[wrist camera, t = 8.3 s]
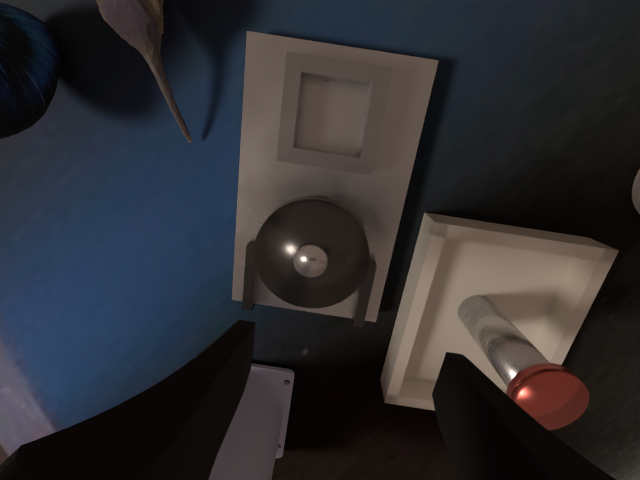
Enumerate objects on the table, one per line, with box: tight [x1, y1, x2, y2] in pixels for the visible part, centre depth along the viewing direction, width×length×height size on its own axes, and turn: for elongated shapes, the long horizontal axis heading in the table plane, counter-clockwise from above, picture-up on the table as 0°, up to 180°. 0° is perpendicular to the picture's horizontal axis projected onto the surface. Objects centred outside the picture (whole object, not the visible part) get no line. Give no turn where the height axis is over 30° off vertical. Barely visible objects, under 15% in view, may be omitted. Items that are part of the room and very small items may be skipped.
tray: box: [380, 213, 619, 411], centre depth 21 cm, size 14×11×2 cm
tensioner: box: [232, 31, 439, 328], centre depth 19 cm, size 16×10×3 cm, turn 172°
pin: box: [458, 295, 589, 430], centre depth 18 cm, size 3×3×8 cm
